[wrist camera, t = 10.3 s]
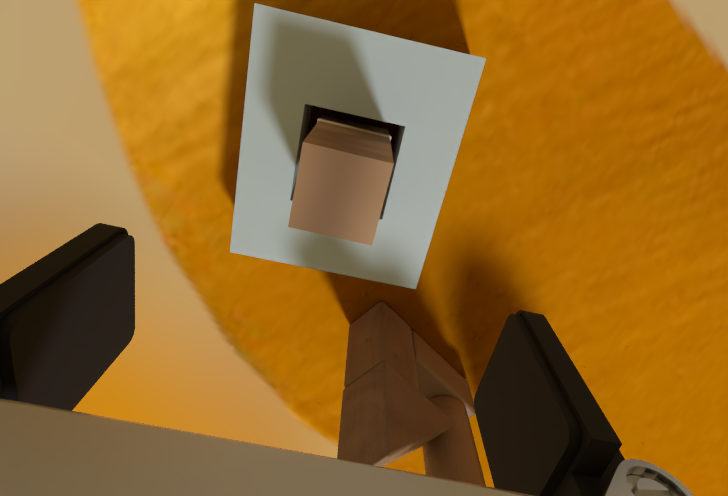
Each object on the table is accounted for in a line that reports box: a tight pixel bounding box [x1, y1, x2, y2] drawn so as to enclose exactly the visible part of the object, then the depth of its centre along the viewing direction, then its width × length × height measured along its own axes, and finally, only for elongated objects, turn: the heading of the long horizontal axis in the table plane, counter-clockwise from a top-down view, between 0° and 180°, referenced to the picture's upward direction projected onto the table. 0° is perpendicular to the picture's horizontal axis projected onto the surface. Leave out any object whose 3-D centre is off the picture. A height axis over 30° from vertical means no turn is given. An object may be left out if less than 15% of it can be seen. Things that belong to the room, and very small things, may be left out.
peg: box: [288, 114, 394, 246], centre depth 24 cm, size 4×4×10 cm
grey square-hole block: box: [230, 3, 486, 289], centre depth 27 cm, size 12×14×4 cm
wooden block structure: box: [337, 301, 486, 486], centre depth 27 cm, size 4×11×18 cm, turn 43°
